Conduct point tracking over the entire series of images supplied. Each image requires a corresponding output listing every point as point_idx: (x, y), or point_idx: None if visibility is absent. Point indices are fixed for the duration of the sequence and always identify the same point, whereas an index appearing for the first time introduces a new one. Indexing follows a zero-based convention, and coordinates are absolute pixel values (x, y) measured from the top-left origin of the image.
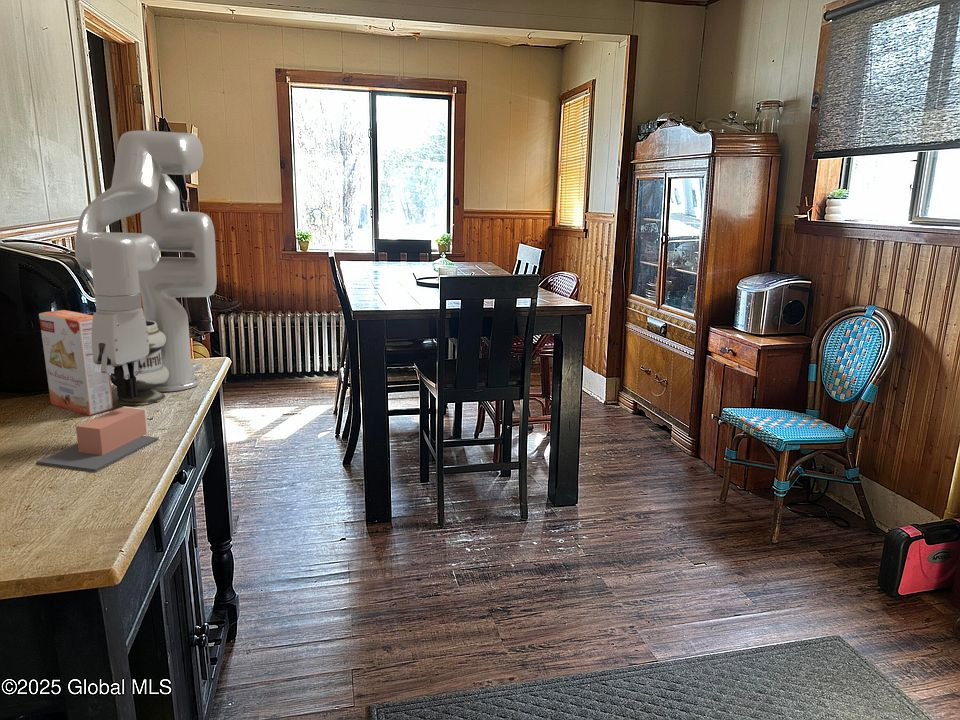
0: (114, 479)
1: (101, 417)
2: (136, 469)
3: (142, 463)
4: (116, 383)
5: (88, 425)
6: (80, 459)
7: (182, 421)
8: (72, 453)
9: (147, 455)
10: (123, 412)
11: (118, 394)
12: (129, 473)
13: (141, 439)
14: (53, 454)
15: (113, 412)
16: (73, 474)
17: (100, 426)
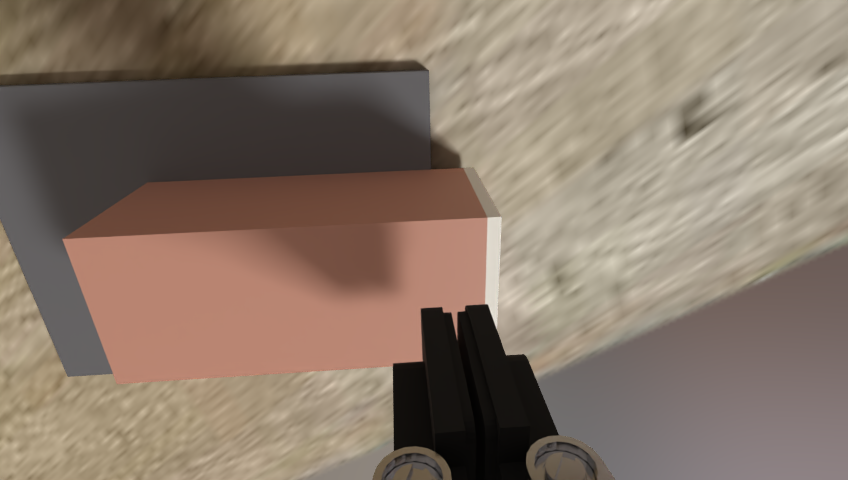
0: (76, 452)
1: (262, 255)
2: (174, 454)
3: (223, 438)
4: (428, 386)
5: (117, 296)
6: None
7: (673, 284)
8: (119, 168)
9: (288, 408)
10: (397, 297)
11: (422, 326)
12: (138, 457)
13: None
14: (52, 92)
15: (374, 246)
16: (9, 317)
17: (148, 359)
